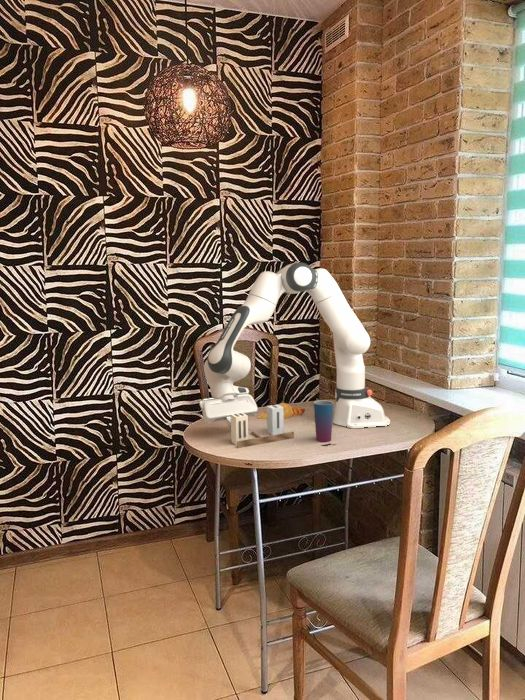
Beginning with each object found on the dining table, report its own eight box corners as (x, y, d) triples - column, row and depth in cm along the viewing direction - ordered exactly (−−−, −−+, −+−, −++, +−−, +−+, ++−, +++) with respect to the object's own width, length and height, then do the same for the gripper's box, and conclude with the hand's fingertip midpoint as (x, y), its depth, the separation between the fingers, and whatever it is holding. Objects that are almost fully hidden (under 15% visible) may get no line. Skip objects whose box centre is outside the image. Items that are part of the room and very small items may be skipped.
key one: (277, 430, 209) (277, 404, 207) (283, 433, 205) (283, 406, 203) (267, 432, 207) (266, 405, 205) (273, 435, 203) (272, 408, 201)
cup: (333, 440, 200) (333, 400, 198) (333, 447, 193) (333, 404, 191) (314, 440, 201) (313, 400, 198) (313, 446, 194) (313, 404, 192)
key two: (243, 439, 199) (242, 412, 197) (248, 443, 195) (247, 415, 193) (231, 441, 197) (230, 414, 195) (236, 445, 193) (236, 417, 191)
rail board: (278, 432, 211) (278, 423, 210) (294, 441, 200) (293, 432, 199) (224, 442, 201) (224, 432, 200) (237, 452, 190) (237, 441, 190)
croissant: (260, 432, 224) (263, 417, 219) (251, 415, 231) (254, 400, 227) (307, 424, 232) (311, 409, 227) (297, 408, 239) (300, 393, 235)
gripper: (199, 394, 198) (211, 428, 191) (251, 387, 207) (264, 419, 200) (196, 404, 202) (206, 437, 195) (247, 397, 211) (259, 428, 204)
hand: (236, 428), depth 198 cm, fingers closed, pressing on key two
